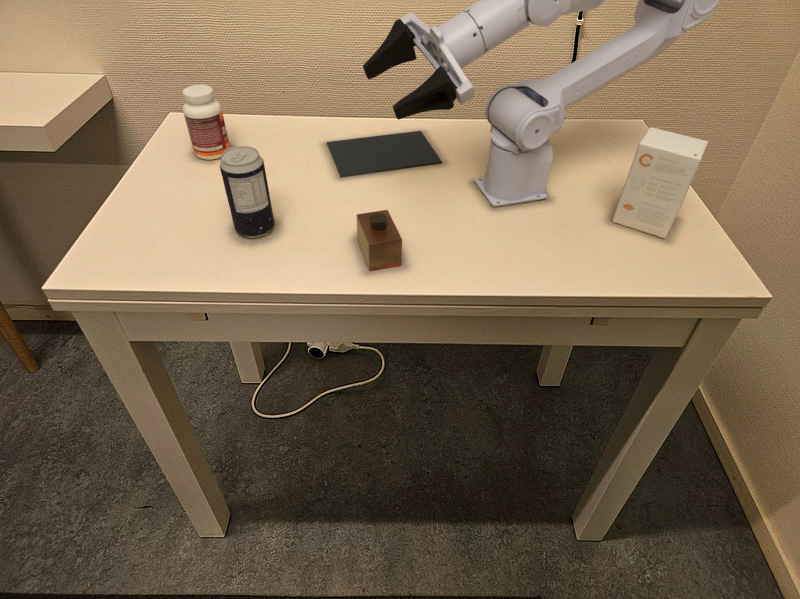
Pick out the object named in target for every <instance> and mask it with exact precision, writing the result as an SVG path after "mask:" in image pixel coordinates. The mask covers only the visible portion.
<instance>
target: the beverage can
mask: <svg viewBox="0 0 800 599" xmlns="http://www.w3.org/2000/svg"><path fill="white" fill-rule="evenodd" d="M264 162H265V161H264V158H262V156H261V155H260V151H259V150H258V149H257V148H255V147H252V146H248V145H237V146H233V147H230V149H227V150H226V151H224V152H223V153H222V155H221V158H220V163H219V169H220V170H219V171H220V174H221V177H222V182H223V186H224V190H225V194H226V199H227V202H228V206H229V211H230V215H231V219H232V224H233V228H234V231H235V232H237V233H238V234H239V235H241V236H243V237H245V238H249V239H258V238H261V237H264V236H265V235H267V234H268V233H269V232H270V231H271V230H272V229H273V228H274V226H275V218H274V217H275V216H274V211H273V207H272V206H273V205H272V200H271V195H270V190H269V184H268V178H267V172H266V167H265V163H264Z"/></svg>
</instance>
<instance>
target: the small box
mask: <svg viewBox="0 0 800 599" xmlns="http://www.w3.org/2000/svg"><path fill="white" fill-rule="evenodd" d="M708 144H709V140H704V139H700V138H697V137H693V136H688V135H685V134H681V133H677V132H673V131H668V130H664V129H660V128H656V127H652V126H650V127H649V128H648V130H646V132H645V134H644V136H642V137H641V140H640V141H639V142H638V144H637V148H636V151H635V153H634V157H633V160H632V162H631V165H630V168H629V171H628V174H627V177H626V180H625V182H624V185H623V188H622V190H621V194H620V196H619V199H618V202H617V205H616V208H615V211H614V213H613V217H612V221H611V222H612V223H615V224H619V225H621V226H623V227H627V228H630V229H634V230H637V231H640V232H643V233H646V234H650V235H653V236H655V237H658V238H662V239H666V238H667V237H668V235H669V232H670V230H671V229H672V226H673V224H674V222H675V220H676V218H677V215H678V213H679V211H680V209H681V208H682V205H683V202H684V200H685V198H686V196H687V193H688V192H689V189H690V187H691V184H692V182H693V181H694V177H695V175H696V173H697V170H698V169H699V166H700V163H701V162H702V158H703V157H704V154H705V151H706V149H707V146H708Z"/></svg>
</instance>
